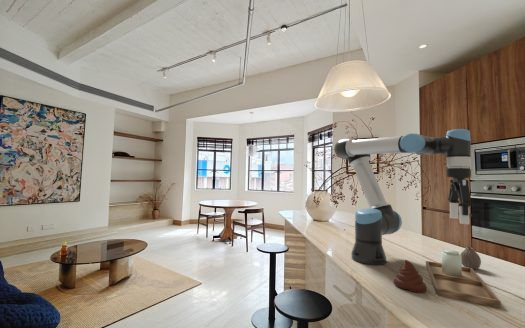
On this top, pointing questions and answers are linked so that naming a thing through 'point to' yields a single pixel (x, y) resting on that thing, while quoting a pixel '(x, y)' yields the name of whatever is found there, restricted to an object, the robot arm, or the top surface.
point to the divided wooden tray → (461, 285)
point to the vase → (470, 258)
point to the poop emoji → (409, 279)
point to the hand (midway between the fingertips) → (459, 221)
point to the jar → (451, 263)
